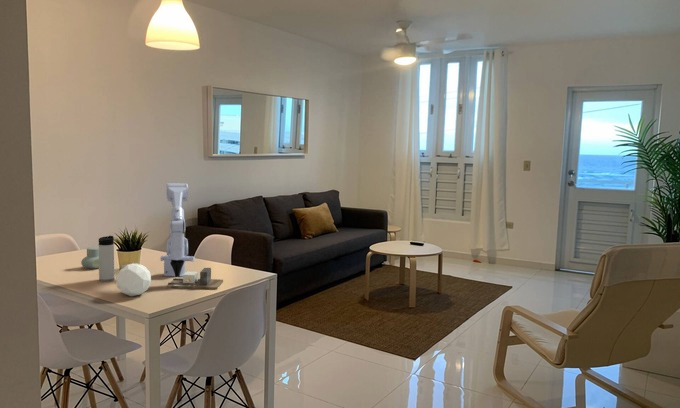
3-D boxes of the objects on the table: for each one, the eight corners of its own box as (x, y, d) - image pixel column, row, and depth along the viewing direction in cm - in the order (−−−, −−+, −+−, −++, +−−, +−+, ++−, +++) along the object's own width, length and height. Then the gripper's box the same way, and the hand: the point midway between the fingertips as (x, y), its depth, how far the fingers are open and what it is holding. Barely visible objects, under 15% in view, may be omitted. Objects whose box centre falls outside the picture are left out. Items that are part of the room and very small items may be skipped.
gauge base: (166, 288, 221) (166, 272, 221) (175, 280, 234) (175, 265, 234) (216, 289, 222) (217, 273, 221) (223, 281, 235) (223, 266, 234)
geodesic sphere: (105, 287, 200) (128, 259, 202) (106, 278, 212) (127, 252, 214) (137, 306, 205) (159, 278, 207) (136, 296, 218) (156, 270, 220)
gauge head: (181, 285, 222) (181, 276, 222) (186, 280, 231) (186, 271, 230) (192, 285, 222) (192, 276, 222) (197, 280, 231) (197, 271, 231)
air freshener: (88, 271, 246) (88, 250, 245) (78, 268, 250) (77, 248, 249) (108, 266, 255) (108, 247, 254) (98, 264, 259) (98, 245, 258)
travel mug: (118, 279, 233) (117, 236, 231) (107, 282, 227) (106, 238, 225) (107, 277, 235) (106, 235, 233) (96, 281, 229) (95, 237, 227)
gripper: (158, 248, 222) (158, 278, 223) (191, 249, 222) (191, 279, 224) (163, 245, 229) (163, 274, 230) (195, 245, 229) (195, 275, 231)
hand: (177, 276), depth 228 cm, fingers closed
